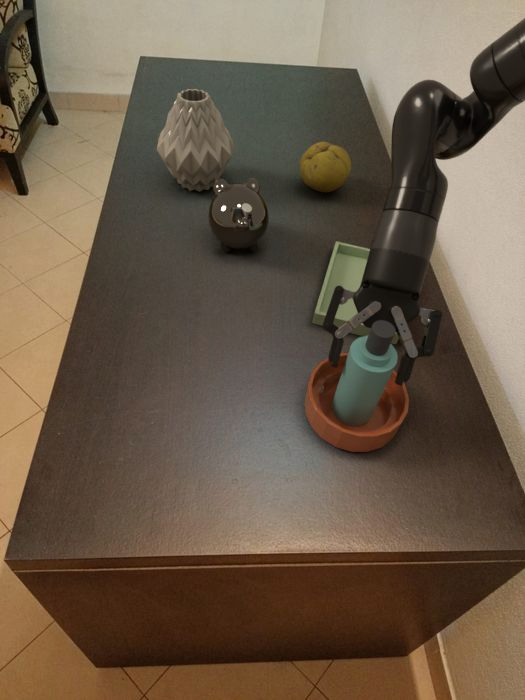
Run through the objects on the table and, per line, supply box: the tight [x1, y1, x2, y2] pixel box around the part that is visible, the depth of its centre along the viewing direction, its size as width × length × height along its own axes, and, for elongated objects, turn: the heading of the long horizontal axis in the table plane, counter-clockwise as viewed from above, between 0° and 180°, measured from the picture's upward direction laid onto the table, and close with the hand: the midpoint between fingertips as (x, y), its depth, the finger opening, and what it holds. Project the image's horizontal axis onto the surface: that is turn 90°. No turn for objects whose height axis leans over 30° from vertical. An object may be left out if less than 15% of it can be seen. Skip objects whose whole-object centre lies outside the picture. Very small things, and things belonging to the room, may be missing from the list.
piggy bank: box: [208, 177, 270, 253], centre depth 88 cm, size 11×15×12 cm
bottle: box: [332, 320, 399, 426], centre depth 62 cm, size 6×6×18 cm
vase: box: [156, 88, 236, 192], centre depth 98 cm, size 16×16×18 cm
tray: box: [311, 240, 399, 345], centre depth 84 cm, size 14×20×3 cm
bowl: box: [303, 352, 410, 453], centre depth 67 cm, size 14×14×5 cm
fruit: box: [299, 141, 352, 193], centre depth 103 cm, size 11×12×10 cm
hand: (365, 375), depth 61 cm, fingers open, 8 cm apart
